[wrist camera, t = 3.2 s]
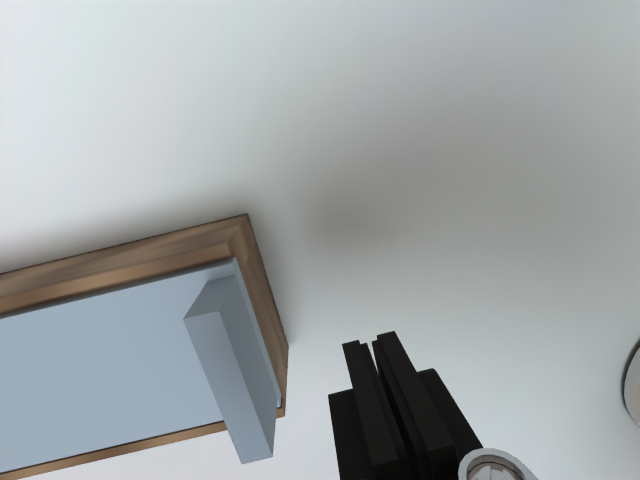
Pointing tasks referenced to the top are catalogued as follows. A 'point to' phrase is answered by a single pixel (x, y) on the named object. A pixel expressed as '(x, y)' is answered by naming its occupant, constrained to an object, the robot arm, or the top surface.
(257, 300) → the pencil box
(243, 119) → the top surface
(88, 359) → the lid
